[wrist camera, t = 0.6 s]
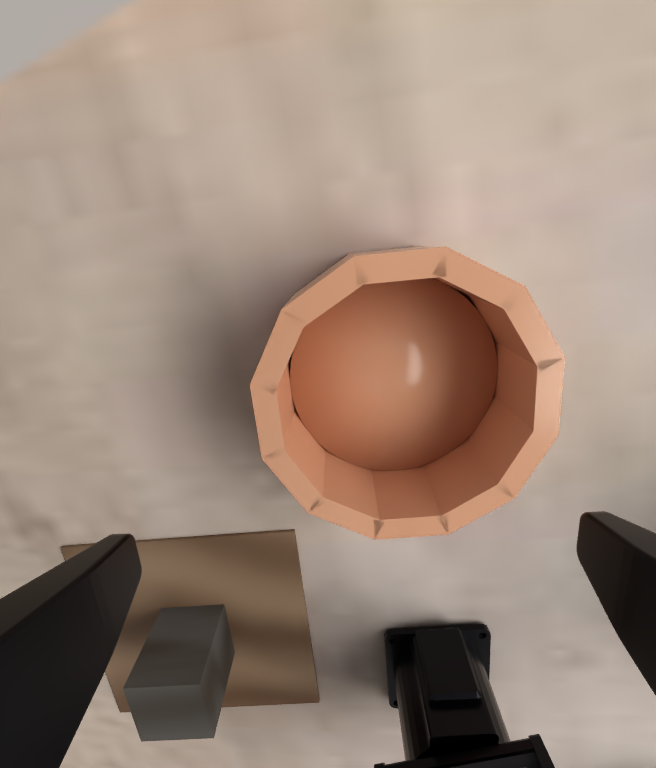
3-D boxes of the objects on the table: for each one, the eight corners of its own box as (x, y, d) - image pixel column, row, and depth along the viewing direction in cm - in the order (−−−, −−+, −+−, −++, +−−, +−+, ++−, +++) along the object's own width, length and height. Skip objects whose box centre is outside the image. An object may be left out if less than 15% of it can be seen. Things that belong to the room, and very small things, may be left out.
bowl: (506, 468, 23) (550, 527, 18) (288, 485, 23) (276, 546, 19) (515, 236, 19) (575, 234, 14) (255, 262, 20) (230, 268, 15)
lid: (319, 690, 29) (316, 793, 24) (125, 700, 30) (78, 802, 25) (295, 522, 25) (284, 601, 19) (68, 538, 26) (-5, 619, 20)
